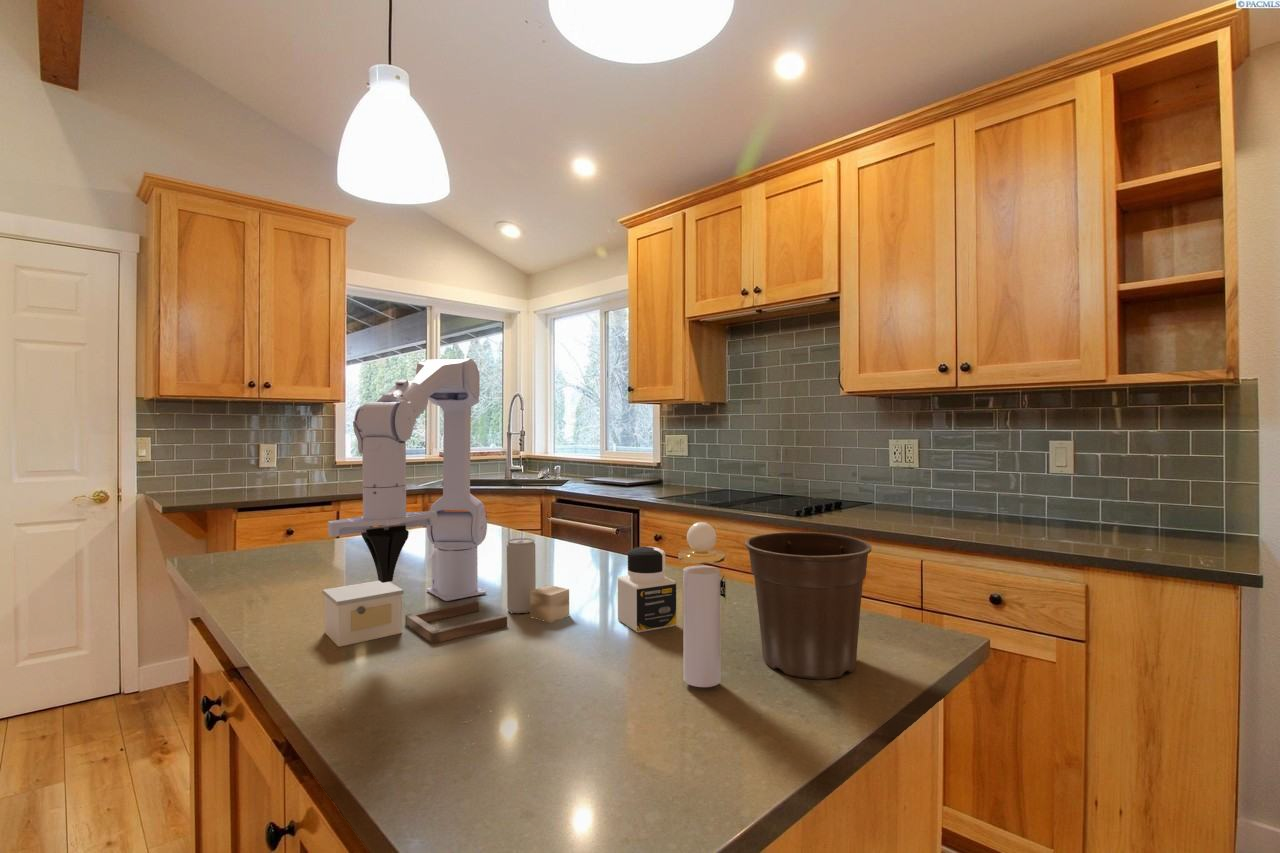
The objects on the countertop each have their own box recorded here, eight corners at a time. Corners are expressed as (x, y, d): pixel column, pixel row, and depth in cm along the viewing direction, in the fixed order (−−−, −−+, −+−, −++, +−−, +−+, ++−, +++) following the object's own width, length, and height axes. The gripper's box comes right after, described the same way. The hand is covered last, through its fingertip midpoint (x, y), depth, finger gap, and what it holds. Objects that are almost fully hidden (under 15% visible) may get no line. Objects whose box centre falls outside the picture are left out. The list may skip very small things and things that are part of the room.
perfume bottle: (697, 700, 71) (697, 527, 71) (669, 682, 76) (668, 521, 76) (735, 688, 74) (735, 523, 74) (705, 672, 79) (705, 517, 79)
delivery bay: (405, 624, 98) (405, 615, 98) (475, 609, 106) (475, 600, 106) (432, 643, 89) (432, 633, 89) (507, 626, 97) (507, 616, 97)
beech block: (530, 618, 101) (530, 591, 101) (549, 611, 105) (549, 585, 105) (550, 623, 98) (550, 595, 98) (569, 616, 102) (569, 589, 102)
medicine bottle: (637, 633, 93) (636, 555, 93) (617, 620, 100) (616, 546, 100) (677, 626, 97) (677, 550, 97) (655, 613, 103) (655, 542, 103)
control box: (322, 632, 94) (322, 589, 94) (385, 619, 100) (385, 579, 100) (338, 648, 87) (337, 602, 87) (404, 633, 93) (404, 590, 93)
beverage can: (538, 606, 107) (538, 538, 107) (531, 615, 102) (530, 543, 102) (512, 606, 108) (511, 537, 107) (503, 614, 103) (502, 543, 103)
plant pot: (758, 688, 74) (757, 555, 74) (736, 640, 90) (736, 531, 90) (892, 687, 74) (892, 554, 74) (846, 640, 90) (846, 531, 90)
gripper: (337, 492, 80) (337, 596, 80) (445, 484, 89) (445, 577, 89) (323, 487, 85) (324, 585, 85) (426, 480, 94) (427, 568, 94)
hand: (385, 580), depth 87 cm, fingers closed
